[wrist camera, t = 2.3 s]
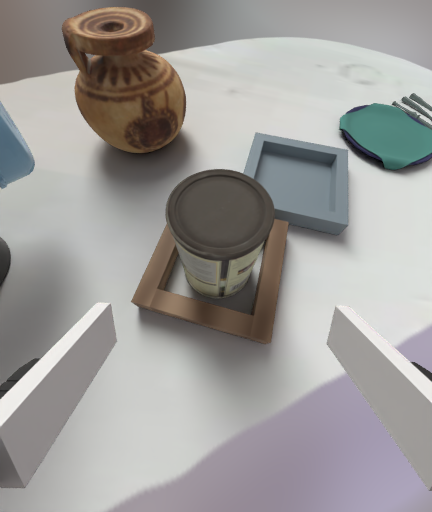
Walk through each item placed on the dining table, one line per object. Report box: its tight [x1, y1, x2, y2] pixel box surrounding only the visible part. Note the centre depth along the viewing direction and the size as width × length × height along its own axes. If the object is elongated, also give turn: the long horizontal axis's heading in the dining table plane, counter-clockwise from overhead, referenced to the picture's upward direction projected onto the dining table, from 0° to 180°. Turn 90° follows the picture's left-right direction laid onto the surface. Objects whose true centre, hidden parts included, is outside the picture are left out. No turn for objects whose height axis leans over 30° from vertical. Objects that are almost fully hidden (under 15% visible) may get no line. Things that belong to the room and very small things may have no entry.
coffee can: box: [166, 169, 275, 298], centre depth 26 cm, size 10×10×14 cm
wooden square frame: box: [131, 219, 289, 344], centre depth 31 cm, size 18×18×3 cm
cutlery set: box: [339, 93, 432, 170], centre depth 47 cm, size 20×30×2 cm, turn 120°
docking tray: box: [243, 133, 348, 235], centre depth 38 cm, size 18×18×3 cm
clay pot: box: [62, 7, 186, 153], centre depth 37 cm, size 19×19×20 cm
